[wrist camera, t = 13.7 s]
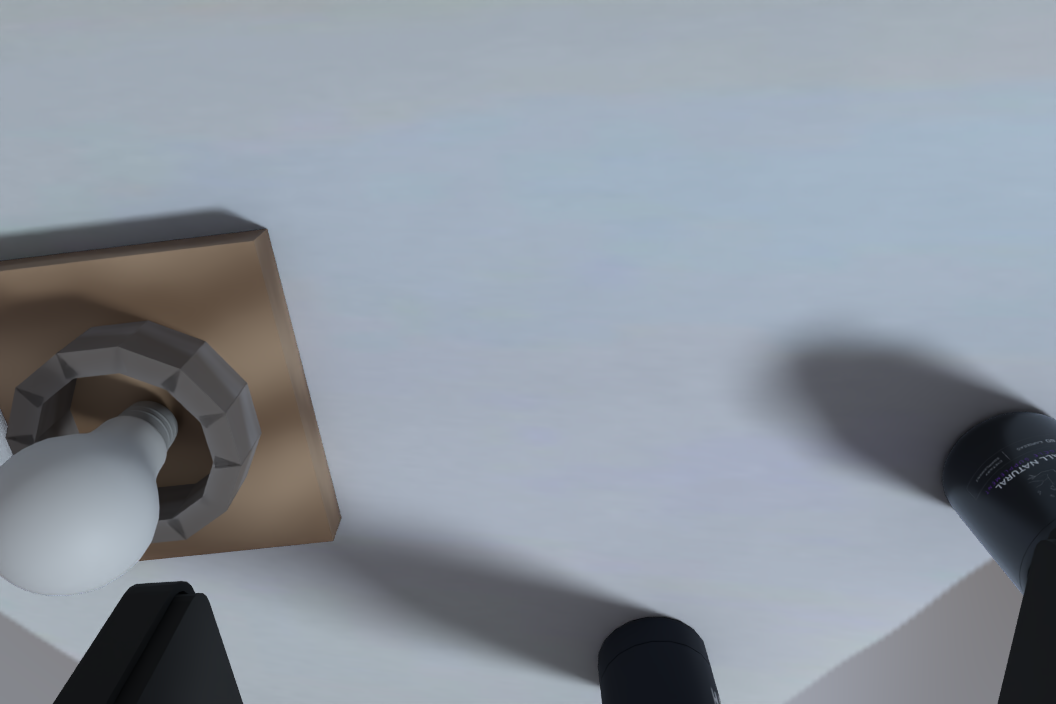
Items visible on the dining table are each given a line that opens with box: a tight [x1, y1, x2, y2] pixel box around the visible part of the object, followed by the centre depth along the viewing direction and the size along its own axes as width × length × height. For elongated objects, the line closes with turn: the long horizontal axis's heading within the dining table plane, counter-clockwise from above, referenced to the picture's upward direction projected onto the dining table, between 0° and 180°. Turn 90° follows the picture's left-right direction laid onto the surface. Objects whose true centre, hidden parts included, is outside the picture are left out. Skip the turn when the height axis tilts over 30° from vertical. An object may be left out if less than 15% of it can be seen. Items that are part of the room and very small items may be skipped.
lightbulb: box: [0, 401, 178, 596], centre depth 33 cm, size 6×6×11 cm
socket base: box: [0, 229, 341, 561], centre depth 38 cm, size 16×14×5 cm
